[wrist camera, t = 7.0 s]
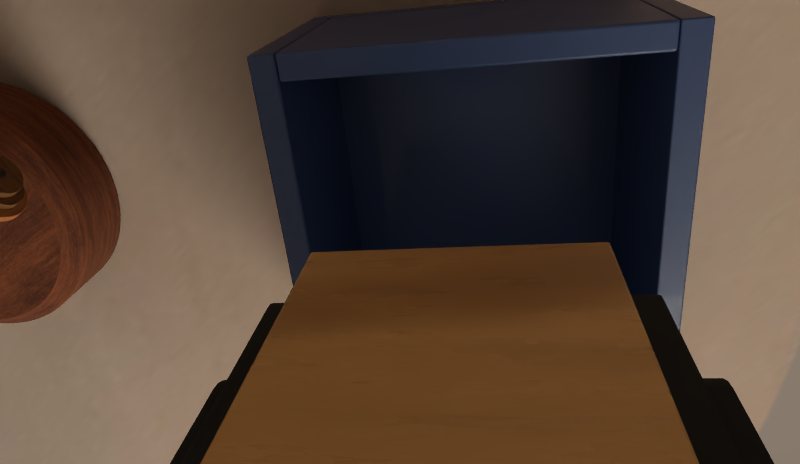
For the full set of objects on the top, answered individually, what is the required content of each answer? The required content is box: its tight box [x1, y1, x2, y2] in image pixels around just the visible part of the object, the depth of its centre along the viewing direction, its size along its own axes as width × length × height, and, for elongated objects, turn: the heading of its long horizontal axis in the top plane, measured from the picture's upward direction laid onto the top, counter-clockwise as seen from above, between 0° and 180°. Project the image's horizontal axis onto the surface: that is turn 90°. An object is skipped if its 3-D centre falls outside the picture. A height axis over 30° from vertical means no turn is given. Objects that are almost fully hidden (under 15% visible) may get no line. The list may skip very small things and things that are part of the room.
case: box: [247, 0, 715, 332], centre depth 23 cm, size 16×12×8 cm
